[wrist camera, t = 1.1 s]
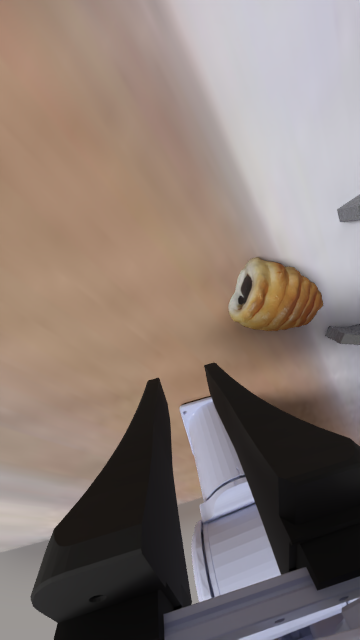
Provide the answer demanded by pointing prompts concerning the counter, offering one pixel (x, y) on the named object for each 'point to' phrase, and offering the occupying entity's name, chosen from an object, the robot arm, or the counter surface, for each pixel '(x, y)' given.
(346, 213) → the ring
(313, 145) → the counter surface
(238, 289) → the pastry
